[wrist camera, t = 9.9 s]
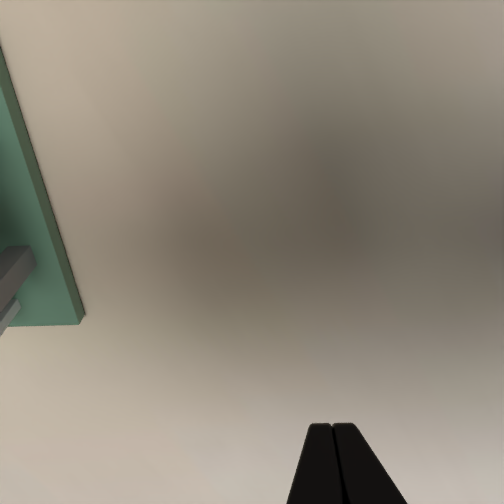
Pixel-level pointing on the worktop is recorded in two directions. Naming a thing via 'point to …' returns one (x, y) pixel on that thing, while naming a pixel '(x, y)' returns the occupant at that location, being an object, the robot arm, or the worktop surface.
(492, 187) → the worktop surface
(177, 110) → the worktop surface
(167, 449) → the worktop surface
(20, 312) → the circuit board module
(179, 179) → the worktop surface
